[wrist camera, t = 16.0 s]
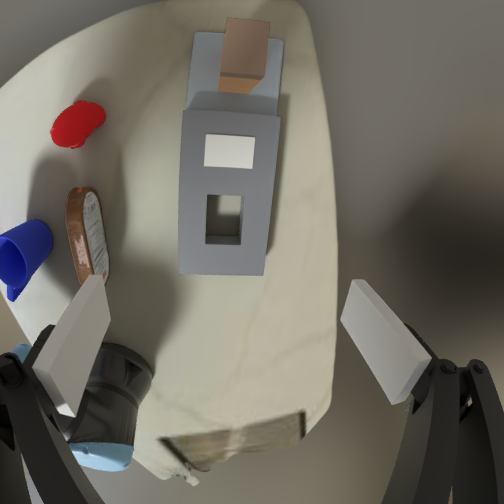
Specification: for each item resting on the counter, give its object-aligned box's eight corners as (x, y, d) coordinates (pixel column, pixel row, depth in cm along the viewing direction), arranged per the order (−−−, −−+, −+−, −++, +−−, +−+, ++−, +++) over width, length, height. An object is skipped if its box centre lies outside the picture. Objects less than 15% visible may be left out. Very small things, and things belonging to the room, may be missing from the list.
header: (181, 263, 42) (179, 274, 38) (186, 112, 33) (183, 109, 29) (259, 264, 43) (263, 276, 40) (274, 118, 35) (281, 117, 31)
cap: (59, 163, 30) (79, 153, 27) (38, 131, 25) (55, 115, 23) (94, 132, 34) (117, 120, 32) (76, 102, 30) (98, 86, 27)
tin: (83, 182, 34) (56, 195, 27) (101, 180, 35) (77, 192, 27) (99, 274, 40) (81, 303, 33) (116, 273, 41) (100, 303, 33)
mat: (186, 112, 33) (185, 111, 32) (195, 33, 28) (195, 31, 27) (274, 118, 35) (276, 118, 34) (282, 41, 30) (283, 40, 29)
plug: (217, 91, 32) (220, 72, 21) (222, 51, 29) (227, 17, 18) (248, 94, 32) (264, 76, 21) (252, 54, 30) (270, 22, 19)
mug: (18, 265, 37) (-10, 293, 28) (26, 206, 33) (-9, 226, 24) (51, 284, 40) (26, 316, 31) (62, 225, 36) (30, 250, 27)
